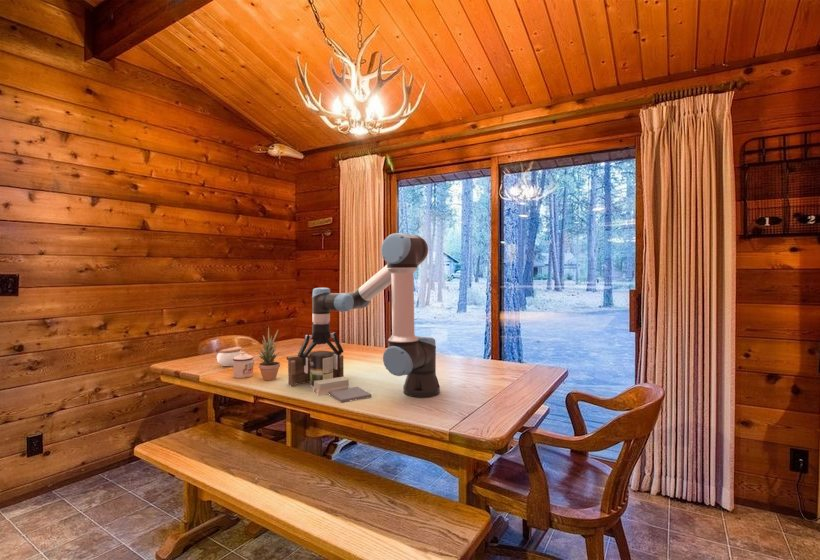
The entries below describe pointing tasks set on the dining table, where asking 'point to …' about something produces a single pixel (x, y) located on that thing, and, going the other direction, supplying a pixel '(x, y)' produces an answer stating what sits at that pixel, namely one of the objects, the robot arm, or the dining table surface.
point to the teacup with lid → (243, 365)
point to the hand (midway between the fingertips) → (321, 370)
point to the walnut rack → (297, 369)
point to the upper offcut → (331, 383)
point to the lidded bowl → (227, 354)
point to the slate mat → (349, 394)
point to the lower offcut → (328, 390)
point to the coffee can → (320, 366)
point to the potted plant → (269, 359)
